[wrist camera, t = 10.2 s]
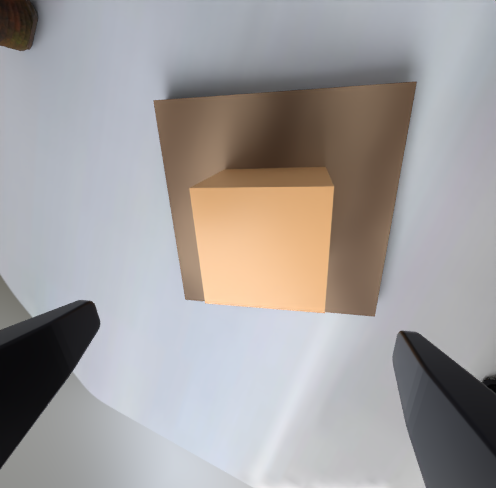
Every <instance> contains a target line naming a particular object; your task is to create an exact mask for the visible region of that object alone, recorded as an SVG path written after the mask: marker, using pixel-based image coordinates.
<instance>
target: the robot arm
mask: <svg viewBox="0 0 496 488" xmlns="http://www.w3.org/2000/svg"><path fill="white" fill-rule="evenodd" d="M99 327H100V319H99V316H98V313H97V310H96V306H95V304H94V303H93V302H92V301H87V300H78V301H75V302H73V303H70V304H67V305H65V306H62V307H59V308H57V309H54V310H52V311H49V312H46V313H44V314H41V315H38V316H36V317H33V318H31V319H28V320H25V321H23V322H20V323H17V324H15V325H12V326H9V327H7V328H4V329H2V330H0V469H1V468H2V467H3V465H4V464H5V463H6V461H7V460H8V458H9V457H10V456H11V454H12V453H13V452H14V450H15V449H16V447H17V446H18V445H19V444H20V442H21V441H22V439H23V438H24V437H25V435H26V434H27V433H28V431H29V430H30V429H31V427H32V426H33V425H34V423H35V422H36V420H37V419H38V418H39V416H40V415H41V414H42V412H43V411H44V410H45V408H46V407H47V406H48V404H49V403H50V402H51V400H52V399H53V398H54V396H55V395H56V394H57V392H58V391H59V390H60V388H61V387H62V385H63V384H64V383H65V381H66V380H67V379H68V377H69V376H70V374H71V372H72V371H73V370H74V368H75V367H76V365H77V364H78V362H79V360H80V359H81V357H82V356H83V354H84V352H85V351H86V349H87V348H88V346H89V344H90V343H91V341H92V339H93V338H94V336H95V335H96V333H97V331H98V330H99ZM393 366H394V371H395V376H396V380H397V385H398V390H399V395H400V399H401V404H402V409H403V413H404V418H405V422H406V426H407V430H408V433H409V437H410V440H411V443H412V446H413V449H414V452H415V455H416V458H417V461H418V464H419V467H420V471H421V474H422V477H423V480H424V483H425V486H426V488H496V380H493V379H489V380H485V381H484V382H483V383H482V382H480V381H479V380H478V379H476V378H475V377H474V376H473V375H471V374H470V373H469V372H468V371H466V370H465V369H464V368H462V367H461V366H460V365H459V364H457V363H456V362H455V361H454V360H452V359H451V358H450V357H448V356H447V355H446V354H445V353H443V352H442V351H441V350H440V349H438V348H437V347H436V346H434V345H433V344H432V343H431V342H429V341H428V340H427V339H426V338H424V337H423V336H422V335H421V334H419V333H417V332H411V331H400V332H399V333H398V335H397V339H396V343H395V347H394V352H393Z"/></svg>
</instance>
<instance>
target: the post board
mask: <svg viewBox="0 0 496 488" xmlns="http://www.w3.org/2000/svg"><path fill="white" fill-rule="evenodd" d="M416 83H417V82H403V83H390V84H376V85H362V86H348V87H334V88H320V89H306V90H292V91H278V92H264V93H251V94H237V95H223V96H209V97H195V98H181V99H167V100H153V101H154V107H155V113H156V120H157V126H158V132H159V138H160V144H161V151H162V157H163V163H164V169H165V176H166V182H167V188H168V194H169V200H170V207H171V213H172V219H173V225H174V232H175V238H176V244H177V250H178V256H179V263H180V269H181V275H182V281H183V288H184V294H185V300H196V301H205V299H204V291H203V284H202V277H201V270H200V262H199V255H198V248H197V241H196V233H195V226H194V219H193V212H192V205H191V197H190V190H189V188H190V187H192V186H194V185H196V184H198V183H200V182H202V181H204V180H205V179H207V178H209V177H211V176H213V175H215V174H217V173H219V172H221V171H223V170H224V169H260V168H299V167H326V169H327V171H328V173H329V176H330V178H331V180H332V183H333V185H334V195H333V208H332V222H331V235H330V248H329V262H328V275H327V289H326V302H325V312H330V313H341V314H353V315H364V316H375V312H376V306H377V301H378V295H379V289H380V284H381V278H382V273H383V267H384V262H385V256H386V250H387V245H388V239H389V234H390V228H391V223H392V217H393V211H394V206H395V200H396V195H397V189H398V184H399V178H400V172H401V167H402V161H403V156H404V150H405V145H406V139H407V133H408V128H409V122H410V117H411V111H412V105H413V100H414V94H415V89H416Z"/></svg>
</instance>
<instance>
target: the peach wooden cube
mask: <svg viewBox="0 0 496 488" xmlns="http://www.w3.org/2000/svg"><path fill="white" fill-rule="evenodd" d="M189 190H190V197H191V205H192V212H193V219H194V226H195V233H196V241H197V248H198V255H199V262H200V270H201V277H202V284H203V291H204V299H205V303H208V304H220V305H232V306H244V307H256V308H269V309H281V310H293V311H305V312H317V313H325V302H326V289H327V275H328V262H329V248H330V235H331V222H332V208H333V195H334V185H333V183H332V180H331V178H330V176H329V173H328V171H327V169H326V167H299V168H260V169H224V170H223V171H221V172H219V173H217V174H215V175H213V176H211V177H209V178H207V179H205V180H204V181H202V182H200V183H198V184H196V185H194V186H192V187H190V188H189Z"/></svg>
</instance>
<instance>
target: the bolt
mask: <svg viewBox="0 0 496 488" xmlns="http://www.w3.org/2000/svg"><path fill="white" fill-rule="evenodd" d="M37 20H38V17H37V13H36V11H35V9H34V7H33V5H32V3H31V2H30V0H0V46H5V47H8V48H12V49H16V50H19V51H25V50H26V49H30V48H31V46H32V42H33V38H34V34H35V30H36V25H37Z"/></svg>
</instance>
